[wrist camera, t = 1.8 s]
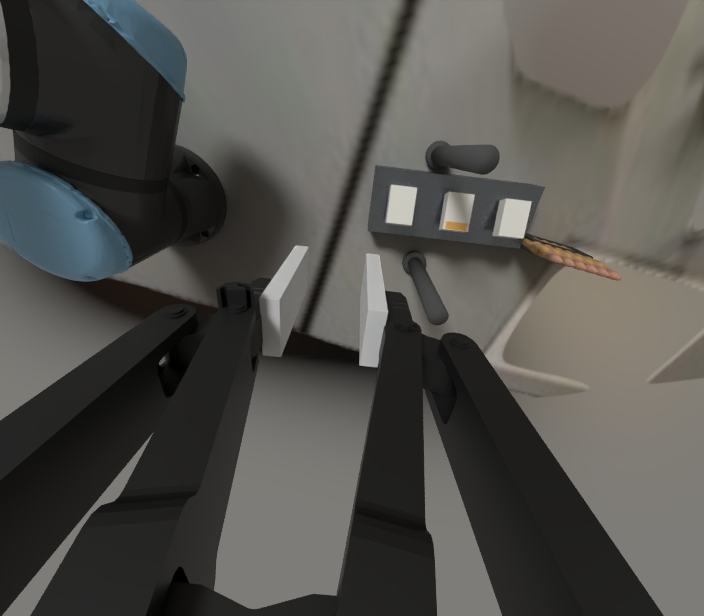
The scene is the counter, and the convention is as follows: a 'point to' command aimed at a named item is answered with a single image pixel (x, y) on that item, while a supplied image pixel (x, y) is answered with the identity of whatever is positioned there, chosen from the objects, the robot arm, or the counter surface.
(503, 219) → the paddle right
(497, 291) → the counter surface
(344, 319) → the counter surface
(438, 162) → the cord post near
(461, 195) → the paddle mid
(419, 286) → the cord post far
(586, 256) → the ammunition clip
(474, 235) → the breaker panel
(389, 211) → the paddle left
